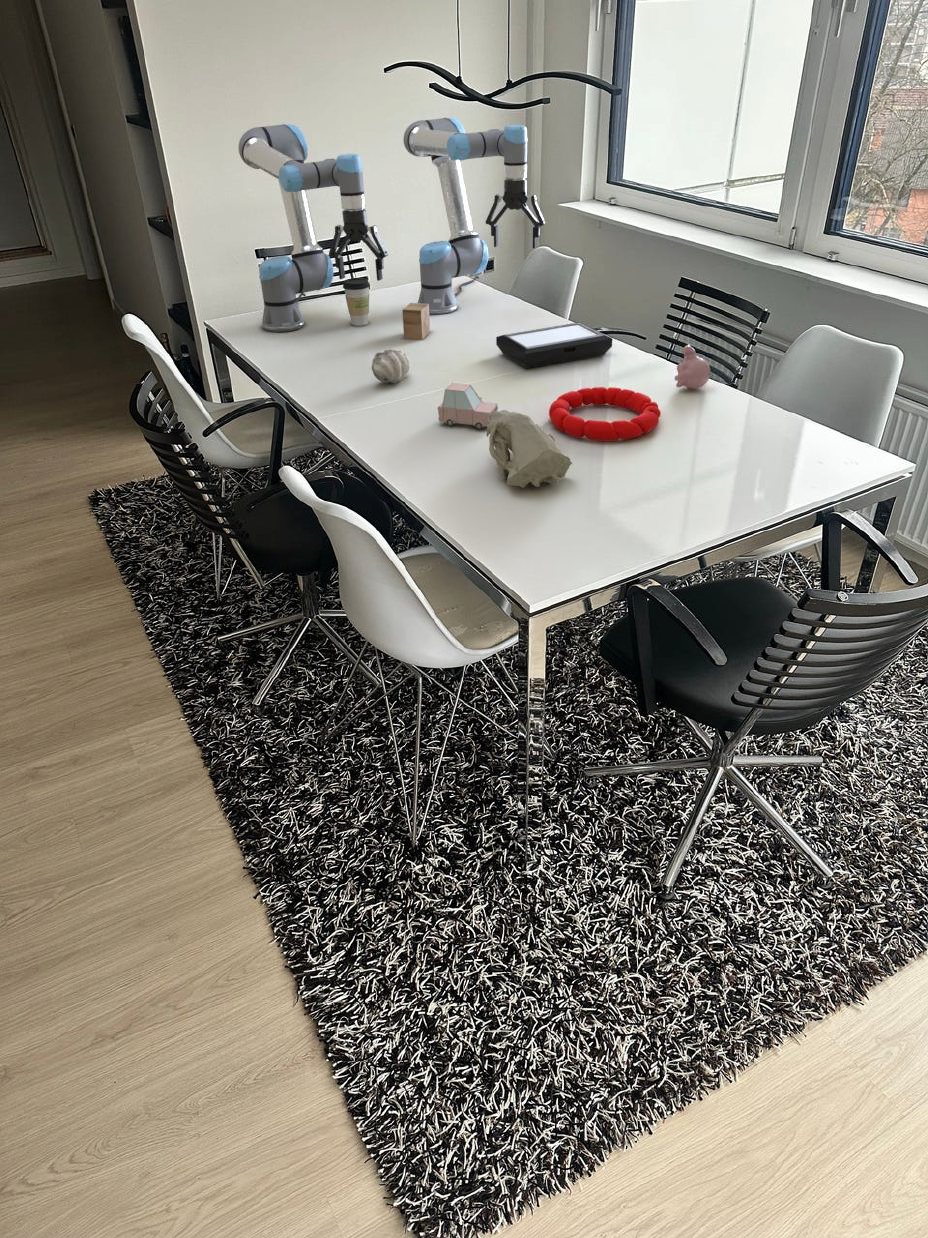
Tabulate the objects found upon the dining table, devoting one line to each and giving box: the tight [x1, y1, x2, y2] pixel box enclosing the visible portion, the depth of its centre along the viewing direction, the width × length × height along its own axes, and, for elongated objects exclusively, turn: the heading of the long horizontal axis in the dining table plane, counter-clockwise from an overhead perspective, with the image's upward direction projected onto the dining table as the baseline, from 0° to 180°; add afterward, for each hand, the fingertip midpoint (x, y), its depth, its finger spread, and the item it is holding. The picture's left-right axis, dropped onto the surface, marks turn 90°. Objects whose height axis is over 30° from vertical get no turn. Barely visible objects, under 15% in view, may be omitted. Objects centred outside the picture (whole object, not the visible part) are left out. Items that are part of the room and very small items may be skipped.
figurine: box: [674, 344, 711, 390], centre depth 259 cm, size 9×11×12 cm
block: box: [401, 302, 431, 341], centre depth 311 cm, size 9×7×10 cm
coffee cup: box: [342, 277, 371, 327], centre depth 323 cm, size 10×10×15 cm
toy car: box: [437, 382, 499, 431], centre depth 243 cm, size 9×15×10 cm, turn 70°
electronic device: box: [495, 322, 613, 370], centre depth 290 cm, size 32×6×20 cm
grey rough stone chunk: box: [485, 409, 573, 489], centre depth 216 cm, size 17×25×20 cm
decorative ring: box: [548, 386, 661, 442], centre depth 242 cm, size 7×30×30 cm
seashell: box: [371, 349, 411, 384], centre depth 271 cm, size 10×15×10 cm
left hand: (360, 278), depth 294 cm, fingers open, 13 cm apart
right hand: (515, 246), depth 306 cm, fingers open, 13 cm apart
